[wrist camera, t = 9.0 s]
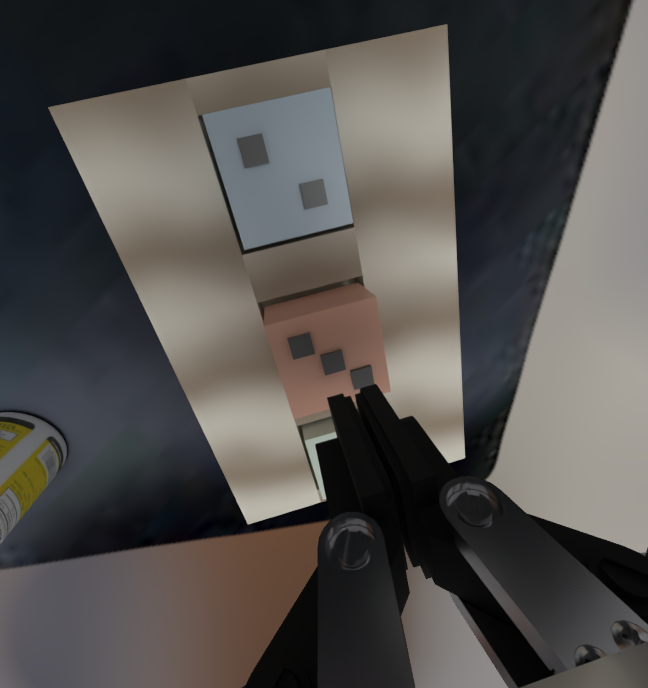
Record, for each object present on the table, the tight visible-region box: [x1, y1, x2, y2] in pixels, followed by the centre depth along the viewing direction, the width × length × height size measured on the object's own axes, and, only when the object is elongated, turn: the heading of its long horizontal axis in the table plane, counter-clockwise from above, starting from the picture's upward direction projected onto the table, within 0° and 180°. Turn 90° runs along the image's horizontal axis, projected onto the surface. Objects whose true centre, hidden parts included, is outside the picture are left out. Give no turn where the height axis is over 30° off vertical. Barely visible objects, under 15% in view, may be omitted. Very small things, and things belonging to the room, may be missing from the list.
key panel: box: [48, 24, 465, 524], centre depth 18 cm, size 24×16×3 cm, turn 12°
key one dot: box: [302, 409, 359, 500], centre depth 21 cm, size 5×5×3 cm
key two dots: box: [202, 87, 353, 250], centre depth 14 cm, size 5×5×3 cm
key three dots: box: [264, 283, 391, 419], centre depth 16 cm, size 5×5×3 cm
